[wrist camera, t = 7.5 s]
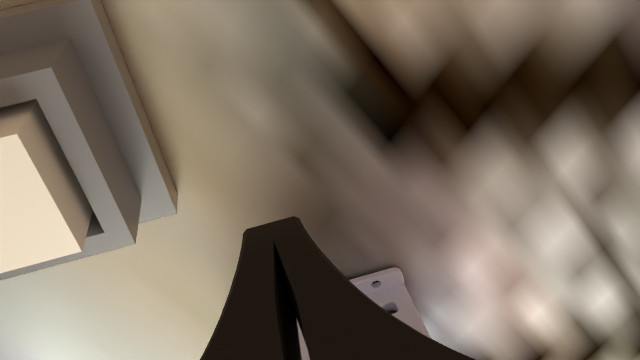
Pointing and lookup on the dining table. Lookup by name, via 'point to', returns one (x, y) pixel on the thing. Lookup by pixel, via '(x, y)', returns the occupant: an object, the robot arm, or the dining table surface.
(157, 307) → the dining table surface
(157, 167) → the key panel
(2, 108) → the cream key
